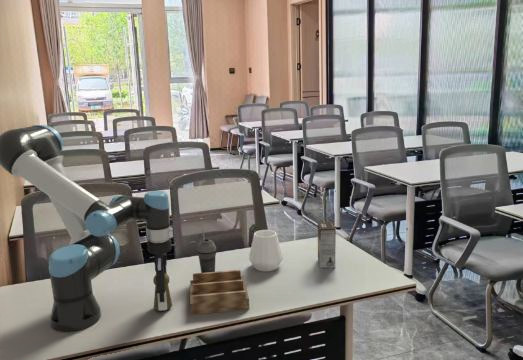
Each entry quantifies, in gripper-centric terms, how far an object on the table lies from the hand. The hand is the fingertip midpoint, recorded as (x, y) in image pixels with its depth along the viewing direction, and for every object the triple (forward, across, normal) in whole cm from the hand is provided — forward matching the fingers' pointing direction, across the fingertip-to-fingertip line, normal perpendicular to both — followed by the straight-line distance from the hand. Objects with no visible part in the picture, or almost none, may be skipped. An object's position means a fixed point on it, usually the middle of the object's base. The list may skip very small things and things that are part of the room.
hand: (163, 304), depth 162 cm
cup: (+1, +27, -38) cm, 47 cm away
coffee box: (0, +25, -62) cm, 67 cm away
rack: (+1, +3, -18) cm, 19 cm away
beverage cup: (+1, +20, -16) cm, 25 cm away
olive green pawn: (0, 0, 0) cm, 1 cm away
